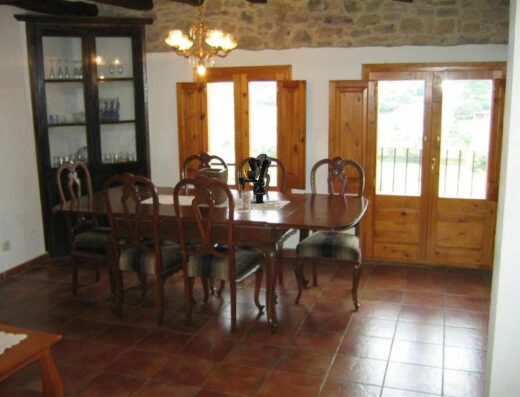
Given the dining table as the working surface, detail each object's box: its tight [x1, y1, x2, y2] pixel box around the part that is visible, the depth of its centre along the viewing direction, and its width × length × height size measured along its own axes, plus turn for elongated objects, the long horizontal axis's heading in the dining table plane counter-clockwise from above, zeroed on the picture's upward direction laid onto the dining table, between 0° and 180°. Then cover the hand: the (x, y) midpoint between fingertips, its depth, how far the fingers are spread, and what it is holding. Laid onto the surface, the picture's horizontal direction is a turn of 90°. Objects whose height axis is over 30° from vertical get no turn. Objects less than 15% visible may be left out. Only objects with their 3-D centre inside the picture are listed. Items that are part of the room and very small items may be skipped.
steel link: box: [241, 191, 252, 210], centre depth 393 cm, size 2×6×12 cm, turn 74°
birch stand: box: [234, 194, 253, 213], centre depth 389 cm, size 11×10×13 cm
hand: (249, 190), depth 399 cm, fingers open, 9 cm apart
